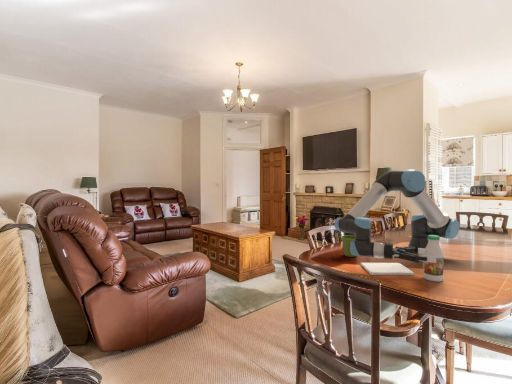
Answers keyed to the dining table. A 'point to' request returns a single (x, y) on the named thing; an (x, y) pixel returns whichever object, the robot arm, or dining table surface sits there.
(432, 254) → the milk bottle
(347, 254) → the plant pot
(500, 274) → the dining table surface
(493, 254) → the dining table surface
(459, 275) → the dining table surface
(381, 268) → the placemat
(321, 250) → the dining table surface
